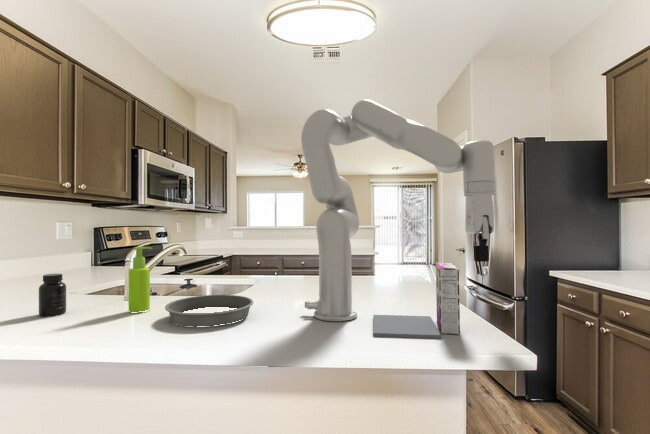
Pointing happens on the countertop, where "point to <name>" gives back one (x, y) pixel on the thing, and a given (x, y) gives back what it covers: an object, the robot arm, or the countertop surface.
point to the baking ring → (209, 319)
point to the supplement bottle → (52, 296)
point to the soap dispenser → (139, 283)
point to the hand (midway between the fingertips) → (481, 261)
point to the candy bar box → (447, 298)
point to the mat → (405, 326)
